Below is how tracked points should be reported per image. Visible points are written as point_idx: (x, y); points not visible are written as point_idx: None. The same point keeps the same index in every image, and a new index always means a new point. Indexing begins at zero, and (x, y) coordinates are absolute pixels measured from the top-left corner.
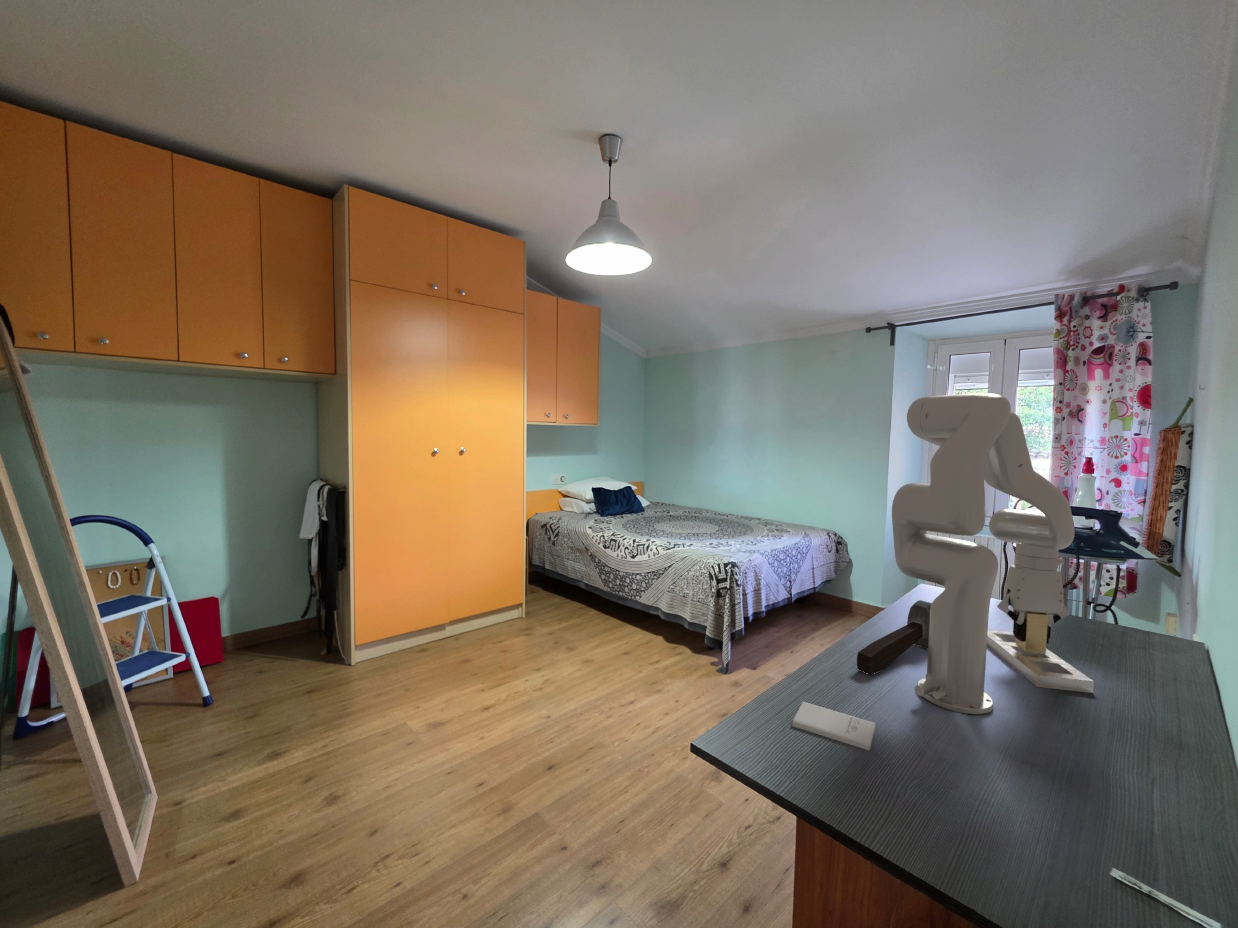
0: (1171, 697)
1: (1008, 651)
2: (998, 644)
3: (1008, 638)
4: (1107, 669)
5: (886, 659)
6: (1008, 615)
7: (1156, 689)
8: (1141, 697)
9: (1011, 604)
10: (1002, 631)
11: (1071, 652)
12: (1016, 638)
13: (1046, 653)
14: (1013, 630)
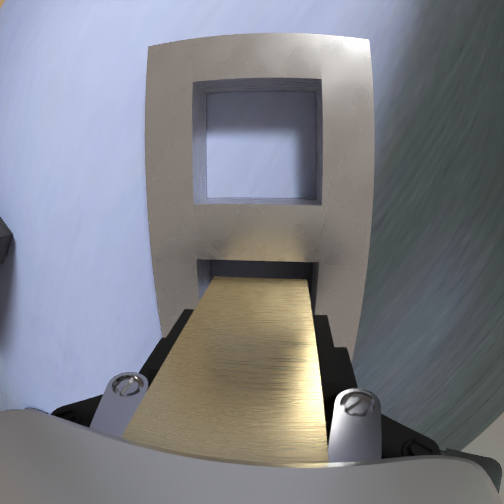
0: (481, 402)
1: (165, 326)
2: (151, 251)
3: (273, 82)
4: (494, 282)
5: None
6: (82, 406)
7: (492, 374)
8: (420, 426)
9: (56, 423)
10: (257, 41)
11: (487, 144)
12: (205, 292)
13: (327, 315)
14: (157, 349)
